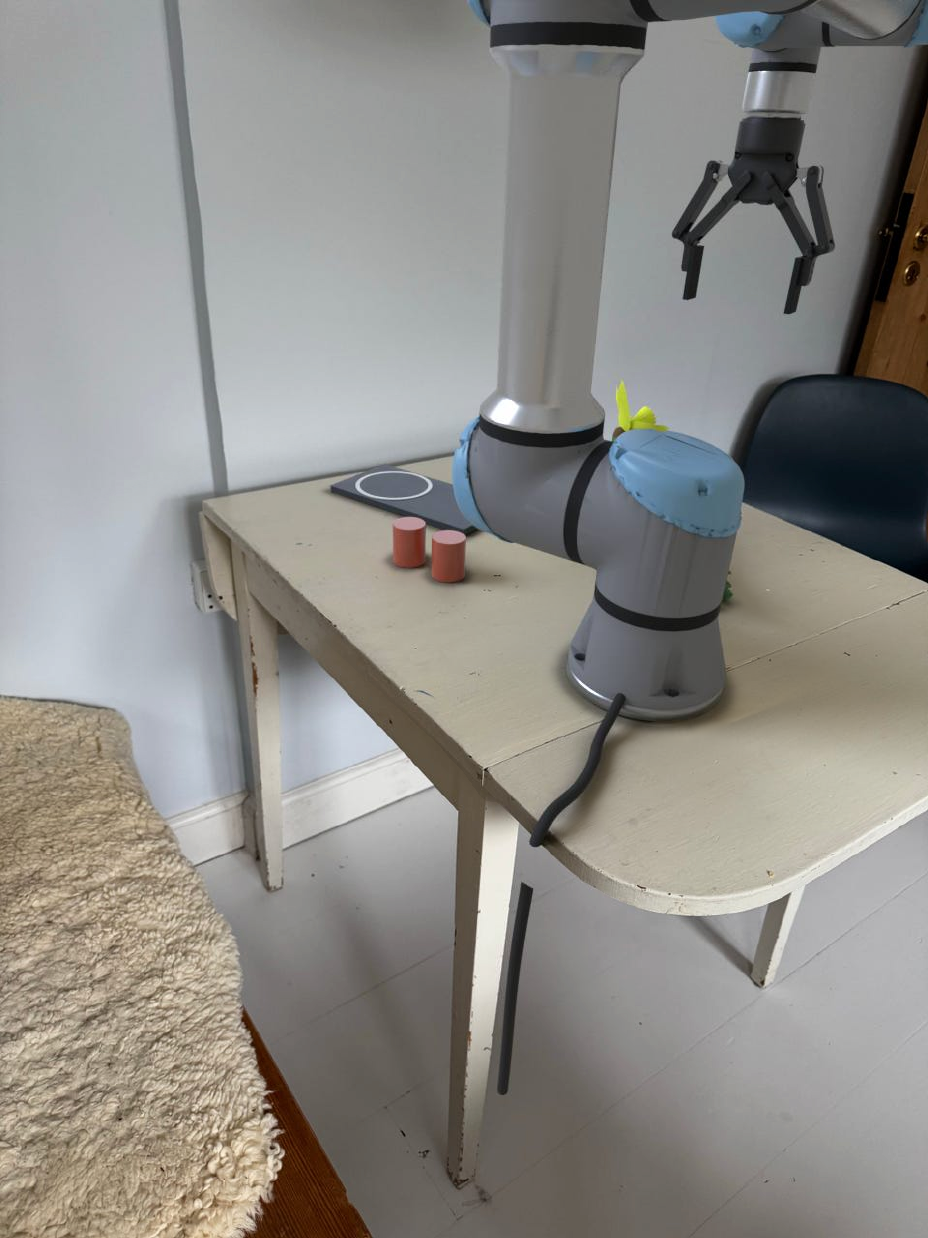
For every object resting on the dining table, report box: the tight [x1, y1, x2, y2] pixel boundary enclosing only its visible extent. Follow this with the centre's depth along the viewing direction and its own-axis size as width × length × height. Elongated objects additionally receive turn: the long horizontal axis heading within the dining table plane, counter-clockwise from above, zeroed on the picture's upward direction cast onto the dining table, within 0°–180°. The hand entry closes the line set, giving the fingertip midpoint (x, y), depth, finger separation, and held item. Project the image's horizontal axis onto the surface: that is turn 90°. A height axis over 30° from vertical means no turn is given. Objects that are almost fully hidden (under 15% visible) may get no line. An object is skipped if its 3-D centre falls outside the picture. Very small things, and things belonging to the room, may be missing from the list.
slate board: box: [330, 463, 478, 537], centre depth 120 cm, size 12×24×1 cm, turn 54°
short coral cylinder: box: [430, 529, 467, 584], centre depth 99 cm, size 4×4×5 cm
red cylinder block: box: [392, 516, 427, 569], centre depth 102 cm, size 4×4×5 cm
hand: (737, 305), depth 110 cm, fingers open, 13 cm apart
